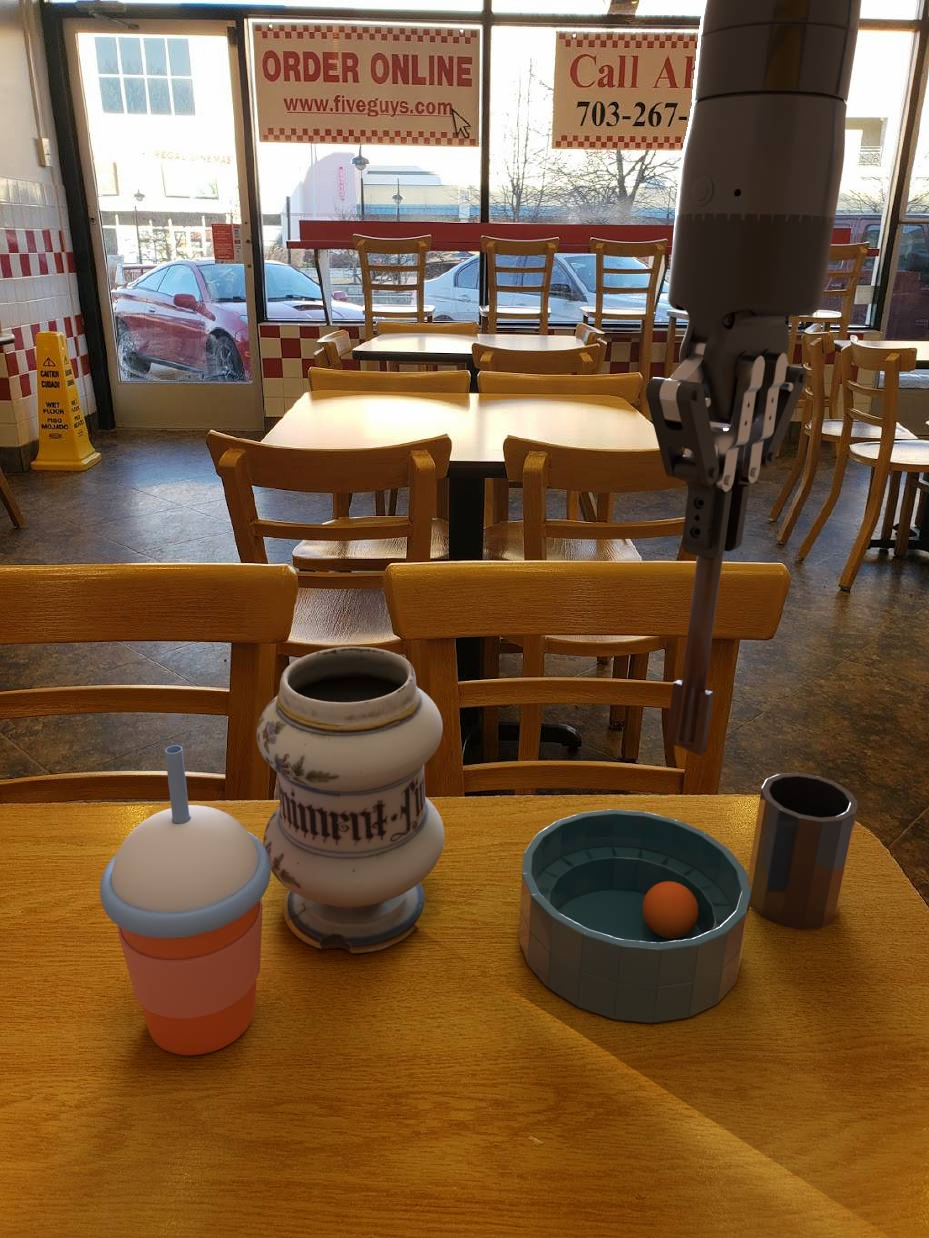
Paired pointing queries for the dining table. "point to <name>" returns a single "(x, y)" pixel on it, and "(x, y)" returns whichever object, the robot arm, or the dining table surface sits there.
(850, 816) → the holder
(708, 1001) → the bowl
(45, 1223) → the dining table surface
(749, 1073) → the dining table surface
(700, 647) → the stirring stick
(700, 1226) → the dining table surface
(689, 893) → the ball
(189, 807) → the cup with straw
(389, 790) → the apothecary jar
